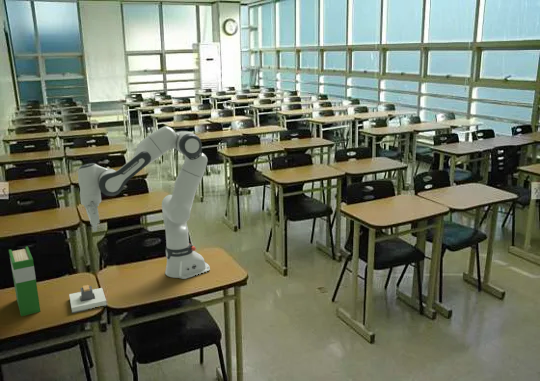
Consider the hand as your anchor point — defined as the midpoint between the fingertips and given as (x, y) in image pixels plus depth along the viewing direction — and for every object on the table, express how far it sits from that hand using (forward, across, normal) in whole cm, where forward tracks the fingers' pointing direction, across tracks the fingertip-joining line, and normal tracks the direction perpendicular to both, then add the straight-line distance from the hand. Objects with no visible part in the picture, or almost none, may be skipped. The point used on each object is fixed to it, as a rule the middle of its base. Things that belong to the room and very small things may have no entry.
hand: (94, 227), depth 216 cm
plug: (+29, -15, +7) cm, 33 cm away
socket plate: (+29, -15, +7) cm, 33 cm away
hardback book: (+29, -6, +31) cm, 43 cm away
